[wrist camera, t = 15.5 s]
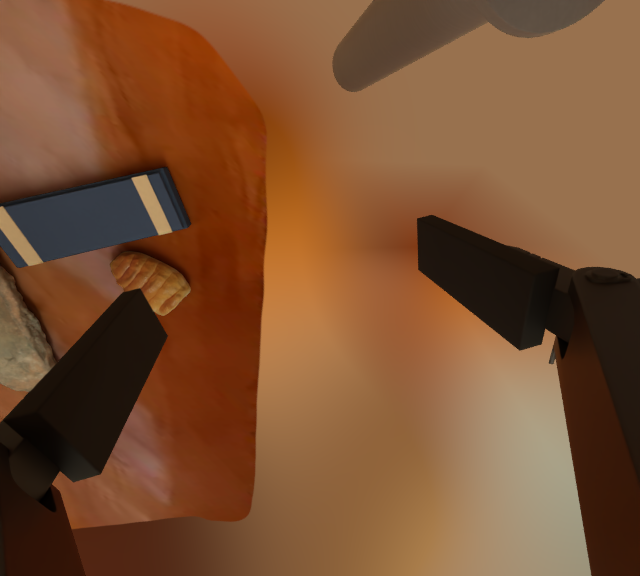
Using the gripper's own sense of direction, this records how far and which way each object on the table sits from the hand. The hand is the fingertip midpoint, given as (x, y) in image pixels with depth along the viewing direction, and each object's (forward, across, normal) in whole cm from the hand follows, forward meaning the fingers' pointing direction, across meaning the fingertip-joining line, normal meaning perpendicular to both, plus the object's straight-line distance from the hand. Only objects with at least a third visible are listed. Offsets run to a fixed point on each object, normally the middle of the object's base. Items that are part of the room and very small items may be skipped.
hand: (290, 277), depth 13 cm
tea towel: (+26, -21, +2) cm, 34 cm away
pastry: (+27, -18, -8) cm, 33 cm away
